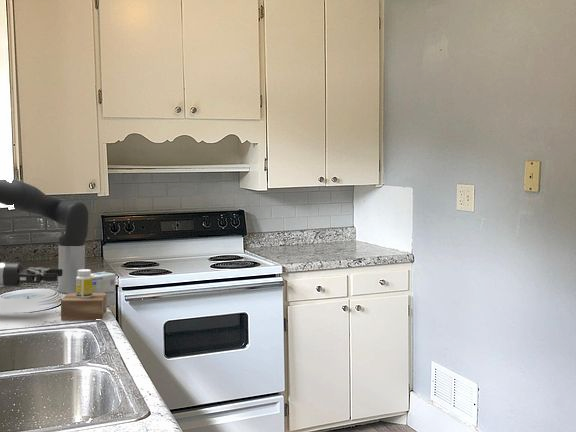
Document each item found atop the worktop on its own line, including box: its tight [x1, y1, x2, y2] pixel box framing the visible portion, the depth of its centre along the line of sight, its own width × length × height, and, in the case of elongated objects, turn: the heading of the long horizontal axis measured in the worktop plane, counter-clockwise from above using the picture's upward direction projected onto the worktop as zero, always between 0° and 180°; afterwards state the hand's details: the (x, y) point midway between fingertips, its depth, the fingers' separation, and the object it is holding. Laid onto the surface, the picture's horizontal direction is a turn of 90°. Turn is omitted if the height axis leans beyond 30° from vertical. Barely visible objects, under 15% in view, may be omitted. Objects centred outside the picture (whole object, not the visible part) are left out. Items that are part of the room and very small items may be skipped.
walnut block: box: [60, 293, 107, 321], centre depth 204 cm, size 12×12×6 cm
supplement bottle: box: [76, 268, 92, 298], centre depth 204 cm, size 5×5×8 cm
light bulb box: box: [90, 271, 116, 307], centre depth 218 cm, size 11×7×11 cm, turn 141°
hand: (60, 275), depth 202 cm, fingers open, 8 cm apart
